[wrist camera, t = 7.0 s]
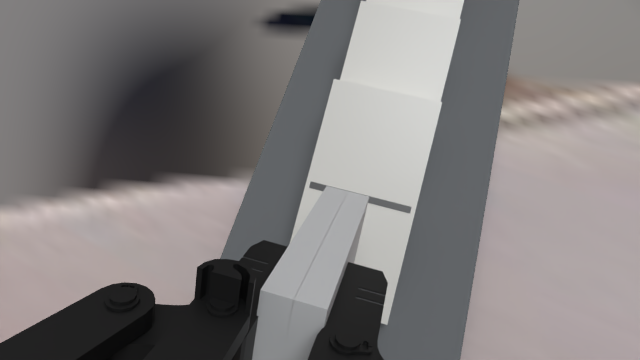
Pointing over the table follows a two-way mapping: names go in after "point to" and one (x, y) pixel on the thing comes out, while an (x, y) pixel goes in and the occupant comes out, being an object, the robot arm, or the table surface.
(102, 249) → the table surface
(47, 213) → the table surface
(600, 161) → the table surface
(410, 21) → the domino
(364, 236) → the domino
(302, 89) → the mat
